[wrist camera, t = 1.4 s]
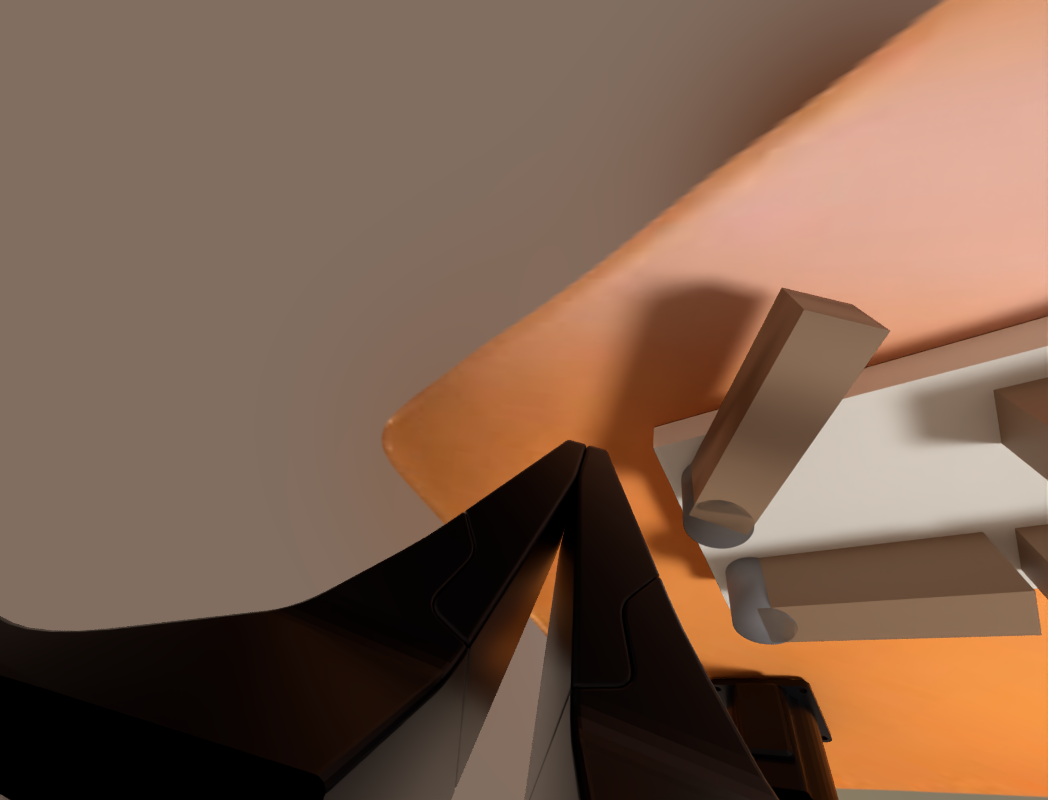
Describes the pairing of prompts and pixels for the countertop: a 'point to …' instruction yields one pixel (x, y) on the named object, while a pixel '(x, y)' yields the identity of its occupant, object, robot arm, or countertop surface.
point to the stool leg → (774, 412)
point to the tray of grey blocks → (902, 504)
